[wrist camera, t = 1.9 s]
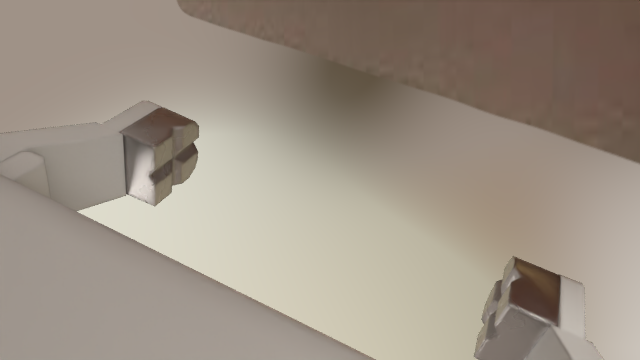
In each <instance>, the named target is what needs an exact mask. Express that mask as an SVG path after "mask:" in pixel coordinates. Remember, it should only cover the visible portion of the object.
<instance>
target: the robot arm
mask: <svg viewBox="0 0 640 360" xmlns="http://www.w3.org/2000/svg"><path fill="white" fill-rule="evenodd" d="M198 137H199V126H198V125H197V123H196V122H195V121H193V120H190V119H188V118H186V117H184V116H182V115H179V114H177V113H175V112H172V111H170V110H168V109H165V108H162V107H161V106H159V105H156V104H154V103H152V102H149V101H141V102H140V103H138V104H136V105H134V106H132V107H131V108H129V109H127V110H125V111H124V112H122V113H120V114H118V115H117V116H115V117H113V118H111V119H110V120H108V121H106V122H104V123H103V124H98V123H86V124H77V125H69V126H60V127H51V128H42V129H33V130H24V131H15V132H6V133H0V360H376V359H373V358H371V357H369V356H367V355H365V354H363V353H361V352H359V351H357V350H355V349H353V348H351V347H349V346H347V345H345V344H343V343H341V342H339V341H337V340H335V339H333V338H331V337H329V336H327V335H325V334H323V333H321V332H319V331H317V330H315V329H313V328H311V327H309V326H307V325H305V324H303V323H301V322H299V321H297V320H295V319H293V318H291V317H289V316H287V315H285V314H283V313H281V312H279V311H277V310H275V309H273V308H271V307H269V306H266V305H264V304H263V303H260V302H258V301H256V300H254V299H252V298H250V297H248V296H246V295H244V294H242V293H240V292H238V291H236V290H234V289H232V288H230V287H228V286H226V285H224V284H222V283H220V282H218V281H216V280H214V279H212V278H210V277H208V276H206V275H204V274H202V273H200V272H198V271H196V270H194V269H192V268H189V267H187V266H185V265H183V264H181V263H179V262H177V261H175V260H173V259H171V258H169V257H167V256H165V255H163V254H161V253H159V252H157V251H155V250H153V249H151V248H149V247H147V246H145V245H143V244H141V243H139V242H137V241H135V240H133V239H131V238H129V237H127V236H125V235H123V234H121V233H118V232H117V231H115V230H113V229H111V228H109V227H106V226H104V225H102V224H100V223H98V222H96V221H94V220H92V219H90V218H88V217H86V216H84V215H82V214H80V213H78V212H76V211H79V210H82V209H85V208H88V207H91V206H95V205H98V204H101V203H104V202H107V201H110V200H114V199H117V198H120V197H123V196H126V194H128V195H130V196H132V197H134V198H137V199H139V200H141V201H144V202H146V203H148V204H151V205H153V206H156V205H157V204H158V203H160V202H161V201H162V200H163V199H164V198H166V197H167V196H168V195H169V194H170V193H171V192H172V185H177V184H182V183H183V182H184V181H185V180H187V179H188V178H189V177H190V175H191V173H192V172H193V170H194V169H195V166H196V163H197V158H198V151H197V149H196V147H195V145H194V143H193V142H194V141H195V140H196V139H197V138H198ZM482 321H483V323H484V326H483V327H482V329H481V331H480V332H479V334H478V338H477V343H476V348H475V353H474V357H475V358H476V359H478V360H604V359H603V357H602V356H601V355H600V353H599V352H598V350H597V349H596V347H595V346H594V344H593V343H592V342H589V341H588V340H586V337H585V288H584V286H583V284H582V283H580V282H577V281H575V280H572V279H570V278H567V277H565V276H562V275H557V274H555V273H553V272H550V271H548V270H545V269H543V268H541V267H538V266H536V265H533V264H531V263H529V262H526V261H524V260H521V259H518V258H517V257H514V256H513V257H512V258H511V259H510V260H509V262H508V264H507V265H506V267H505V269H504V275H503V279H502V280H500V281H497V282H496V283H495V285H494V287H493V289H492V290H491V292H490V295H489V297H488V299H487V301H486V304H485V307H484V311H483V315H482Z"/></svg>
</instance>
